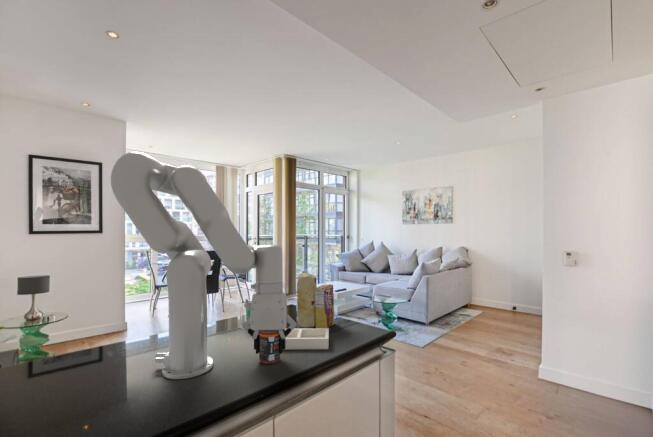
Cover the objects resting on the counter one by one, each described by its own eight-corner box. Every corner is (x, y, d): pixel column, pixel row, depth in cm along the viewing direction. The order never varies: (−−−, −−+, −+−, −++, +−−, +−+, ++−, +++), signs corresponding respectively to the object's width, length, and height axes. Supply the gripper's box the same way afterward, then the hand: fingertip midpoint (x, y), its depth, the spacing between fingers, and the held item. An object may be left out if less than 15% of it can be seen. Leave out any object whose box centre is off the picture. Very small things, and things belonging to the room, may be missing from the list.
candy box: (324, 322, 123) (324, 283, 124) (334, 323, 121) (334, 284, 122) (314, 329, 115) (314, 287, 116) (325, 330, 113) (324, 288, 114)
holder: (267, 349, 97) (267, 339, 97) (273, 338, 107) (273, 328, 107) (328, 349, 96) (328, 338, 96) (328, 337, 106) (328, 328, 106)
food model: (321, 326, 118) (321, 273, 119) (308, 330, 114) (307, 275, 114) (305, 321, 125) (305, 271, 126) (292, 325, 121) (291, 273, 121)
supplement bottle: (277, 365, 85) (277, 323, 86) (256, 364, 86) (256, 323, 86) (282, 356, 91) (282, 317, 92) (262, 355, 92) (262, 317, 92)
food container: (237, 329, 117) (237, 302, 117) (246, 324, 122) (246, 298, 123) (267, 332, 113) (267, 304, 113) (274, 326, 119) (274, 300, 119)
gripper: (235, 291, 86) (235, 357, 85) (297, 290, 85) (298, 357, 85) (243, 285, 93) (243, 347, 93) (300, 285, 93) (301, 346, 92)
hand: (269, 351), depth 89 cm, fingers closed on supplement bottle, 6 cm apart
